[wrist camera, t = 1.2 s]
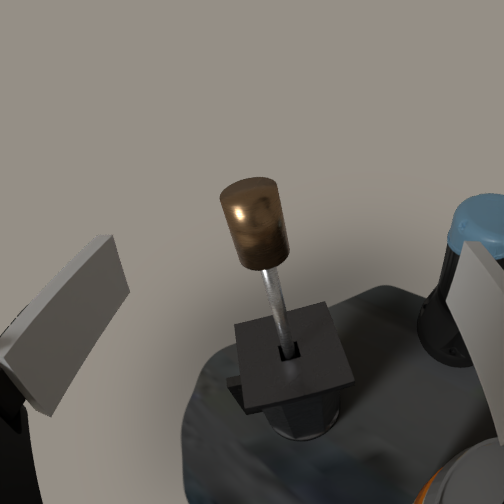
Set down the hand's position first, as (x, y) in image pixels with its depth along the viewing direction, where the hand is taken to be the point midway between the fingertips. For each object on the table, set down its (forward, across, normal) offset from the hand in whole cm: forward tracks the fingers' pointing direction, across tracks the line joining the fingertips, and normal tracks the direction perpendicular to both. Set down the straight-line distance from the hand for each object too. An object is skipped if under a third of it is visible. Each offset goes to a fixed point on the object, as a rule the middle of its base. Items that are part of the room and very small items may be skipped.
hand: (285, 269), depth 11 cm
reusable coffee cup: (-3, +21, -34) cm, 40 cm away
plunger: (+13, 0, -22) cm, 25 cm away
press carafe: (+15, +1, -34) cm, 37 cm away
